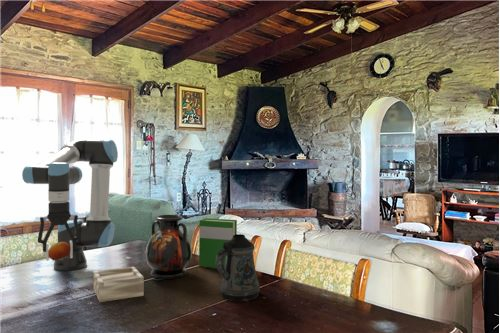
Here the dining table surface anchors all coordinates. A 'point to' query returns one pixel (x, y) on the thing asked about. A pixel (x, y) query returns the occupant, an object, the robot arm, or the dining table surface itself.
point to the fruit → (59, 251)
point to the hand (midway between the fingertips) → (59, 258)
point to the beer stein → (238, 270)
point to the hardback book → (214, 239)
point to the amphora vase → (168, 248)
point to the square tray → (118, 284)
